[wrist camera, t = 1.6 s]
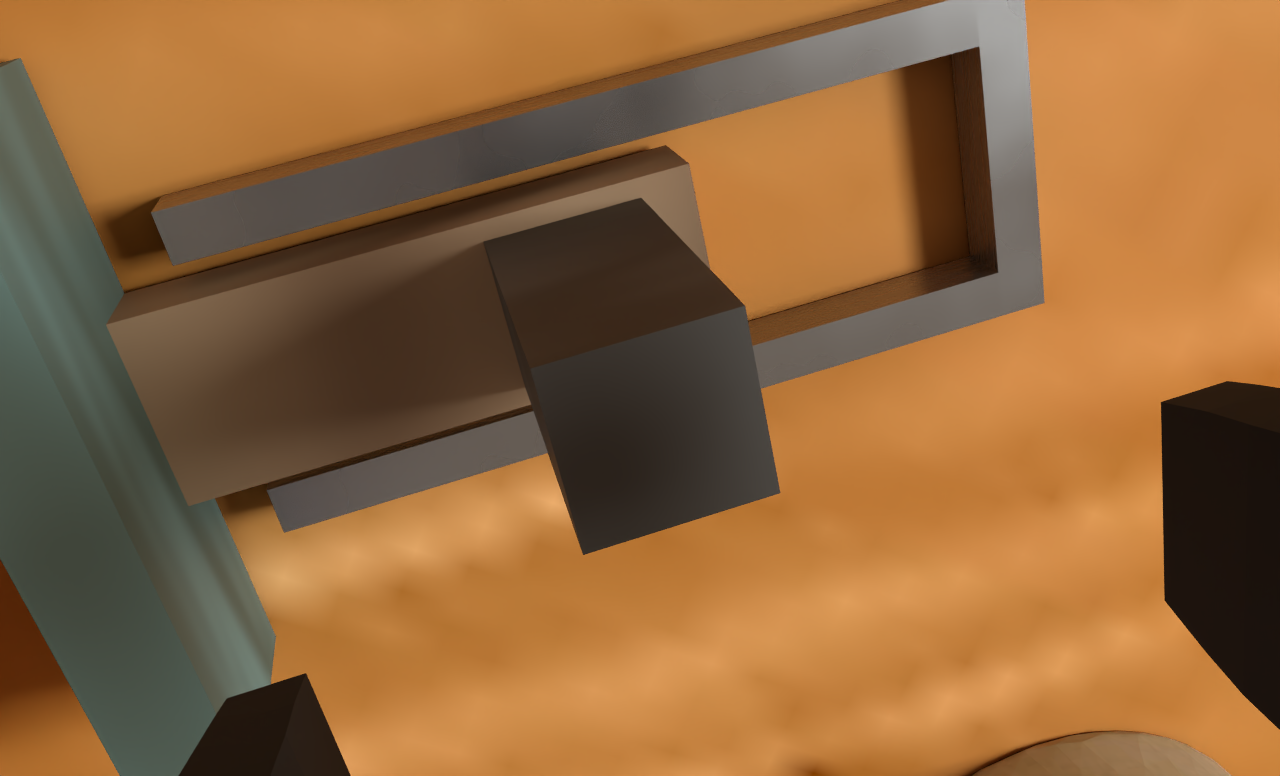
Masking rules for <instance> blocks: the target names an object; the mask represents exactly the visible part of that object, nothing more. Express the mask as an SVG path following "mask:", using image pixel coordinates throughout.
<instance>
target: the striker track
mask: <svg viewBox="0 0 1280 776" xmlns="http://www.w3.org/2000/svg"><path fill="white" fill-rule="evenodd" d="M949 54H951V61H952V71H953V82H954V93H955V103H956V114H957V124H958V135H959V146H960V156H961V167H962V177H963V188H964V199H965V209H966V220H967V230H968V241H969V252H970V256H969V257H966V258H962V259H959V260H955V261H952V262H949V263H945V264H942V265H938V266H935V267H932V268H928V269H925V270H921V271H918V272H915V273H911V274H908V275H905V276H901V277H898V278H894V279H891V280H888V281H884V282H881V283H877V284H874V285H871V286H867V287H864V288H860V289H857V290H854V291H850V292H847V293H843V294H840V295H837V296H833V297H830V298H827V299H823V300H820V301H816V302H813V303H810V304H806V305H803V306H799V307H796V308H793V309H789V310H786V311H782V312H779V313H776V314H772V315H769V316H765V317H762V318H759V319H755V320H752V321H748V325H749V330H750V335H751V340H752V346H753V351H754V356H755V362H756V367H757V372H758V378H759V383H760V388H764V387H768V386H771V385H774V384H777V383H781V382H784V381H787V380H791V379H794V378H797V377H801V376H804V375H807V374H811V373H814V372H817V371H820V370H824V369H827V368H830V367H834V366H837V365H840V364H844V363H847V362H850V361H854V360H857V359H860V358H863V357H867V356H870V355H873V354H877V353H880V352H883V351H887V350H890V349H893V348H897V347H900V346H903V345H906V344H910V343H913V342H916V341H920V340H923V339H926V338H930V337H933V336H936V335H940V334H943V333H946V332H949V331H953V330H956V329H959V328H963V327H966V326H969V325H973V324H976V323H979V322H983V321H986V320H989V319H992V318H996V317H999V316H1002V315H1006V314H1009V313H1012V312H1016V311H1019V310H1022V309H1026V308H1029V307H1032V306H1035V305H1039V304H1042V303H1044V289H1043V274H1042V259H1041V244H1040V228H1039V213H1038V198H1037V183H1036V168H1035V152H1034V137H1033V122H1032V107H1031V91H1030V76H1029V61H1028V46H1027V31H1026V15H1025V0H900V1H896V2H893V3H889V4H885V5H881V6H877V7H874V8H870V9H866V10H862V11H859V12H855V13H851V14H847V15H843V16H840V17H836V18H832V19H828V20H825V21H821V22H817V23H813V24H809V25H806V26H802V27H798V28H794V29H791V30H787V31H783V32H779V33H776V34H772V35H768V36H764V37H760V38H757V39H753V40H749V41H745V42H742V43H738V44H734V45H730V46H726V47H723V48H719V49H715V50H711V51H708V52H704V53H700V54H696V55H692V56H689V57H685V58H681V59H677V60H674V61H670V62H666V63H662V64H658V65H655V66H651V67H647V68H643V69H640V70H636V71H632V72H628V73H624V74H621V75H617V76H613V77H609V78H606V79H602V80H598V81H594V82H590V83H587V84H583V85H579V86H575V87H572V88H568V89H564V90H560V91H556V92H553V93H549V94H545V95H541V96H538V97H534V98H530V99H526V100H523V101H519V102H515V103H511V104H507V105H504V106H500V107H496V108H492V109H489V110H485V111H481V112H477V113H473V114H470V115H466V116H462V117H458V118H455V119H451V120H447V121H443V122H439V123H436V124H432V125H428V126H424V127H421V128H417V129H413V130H409V131H405V132H402V133H398V134H394V135H390V136H387V137H383V138H379V139H375V140H371V141H368V142H364V143H360V144H356V145H353V146H349V147H345V148H341V149H337V150H334V151H330V152H326V153H322V154H319V155H315V156H311V157H307V158H304V159H300V160H296V161H292V162H288V163H285V164H281V165H277V166H273V167H270V168H266V169H262V170H258V171H254V172H251V173H247V174H243V175H239V176H236V177H232V178H228V179H224V180H220V181H217V182H213V183H209V184H205V185H202V186H198V187H194V188H190V189H186V190H183V191H179V192H175V193H171V194H168V195H164V196H162V197H161V198H160V200H159V201H158V203H157V204H156V206H155V207H154V209H153V210H152V212H151V214H152V217H153V219H154V221H155V224H156V226H157V229H158V231H159V233H160V236H161V238H162V241H163V243H164V245H165V248H166V250H167V253H168V255H169V257H170V260H171V262H172V265H173V266H174V265H178V264H181V263H185V262H189V261H192V260H196V259H200V258H203V257H207V256H211V255H214V254H218V253H222V252H225V251H229V250H233V249H236V248H240V247H244V246H248V245H251V244H255V243H259V242H262V241H266V240H270V239H273V238H277V237H281V236H284V235H288V234H292V233H295V232H299V231H303V230H306V229H310V228H314V227H317V226H321V225H325V224H328V223H332V222H336V221H339V220H343V219H347V218H350V217H354V216H358V215H361V214H365V213H369V212H372V211H376V210H380V209H383V208H387V207H391V206H395V205H398V204H402V203H406V202H409V201H413V200H417V199H420V198H424V197H428V196H431V195H435V194H439V193H442V192H446V191H450V190H453V189H457V188H461V187H464V186H468V185H472V184H475V183H479V182H483V181H486V180H490V179H494V178H497V177H501V176H505V175H508V174H512V173H516V172H519V171H523V170H527V169H530V168H534V167H538V166H541V165H545V164H549V163H553V162H556V161H560V160H564V159H567V158H571V157H575V156H578V155H582V154H586V153H589V152H593V151H597V150H600V149H604V148H608V147H611V146H615V145H619V144H622V143H626V142H630V141H633V140H637V139H641V138H644V137H648V136H652V135H655V134H659V133H663V132H666V131H670V130H674V129H677V128H681V127H685V126H688V125H692V124H696V123H699V122H703V121H707V120H711V119H714V118H718V117H722V116H725V115H729V114H733V113H736V112H740V111H744V110H747V109H751V108H755V107H758V106H762V105H766V104H769V103H773V102H777V101H780V100H784V99H788V98H791V97H795V96H799V95H802V94H806V93H810V92H813V91H817V90H821V89H824V88H828V87H832V86H835V85H839V84H843V83H846V82H850V81H854V80H858V79H861V78H865V77H869V76H872V75H876V74H880V73H883V72H887V71H891V70H894V69H898V68H902V67H905V66H909V65H913V64H916V63H920V62H924V61H927V60H931V59H935V58H938V57H942V56H946V55H949ZM546 453H548V452H547V449H546V446H545V443H544V440H543V437H542V434H541V431H540V428H539V426H538V423H537V420H536V417H535V414H534V411H533V408H532V405H528V406H524V407H521V408H518V409H514V410H511V411H507V412H504V413H501V414H497V415H494V416H491V417H487V418H484V419H481V420H477V421H474V422H470V423H467V424H464V425H460V426H457V427H454V428H450V429H447V430H443V431H440V432H437V433H433V434H430V435H427V436H423V437H420V438H416V439H413V440H410V441H406V442H403V443H400V444H396V445H393V446H390V447H386V448H383V449H379V450H376V451H373V452H369V453H366V454H363V455H359V456H356V457H352V458H349V459H346V460H342V461H339V462H336V463H332V464H329V465H325V466H322V467H319V468H315V469H312V470H309V471H305V472H302V473H299V474H295V475H292V476H288V477H285V478H282V479H278V480H275V481H272V482H268V485H267V493H268V495H269V497H270V500H271V502H272V505H273V507H274V509H275V512H276V514H277V517H278V519H279V521H280V524H281V526H282V529H283V531H284V533H285V532H288V531H291V530H295V529H298V528H301V527H304V526H308V525H311V524H314V523H318V522H321V521H324V520H328V519H331V518H334V517H338V516H341V515H344V514H347V513H351V512H354V511H357V510H361V509H364V508H367V507H371V506H374V505H377V504H381V503H384V502H387V501H390V500H394V499H397V498H400V497H404V496H407V495H410V494H414V493H417V492H420V491H424V490H427V489H430V488H433V487H437V486H440V485H443V484H447V483H450V482H453V481H457V480H460V479H463V478H467V477H470V476H473V475H476V474H480V473H483V472H486V471H490V470H493V469H496V468H500V467H503V466H506V465H510V464H513V463H516V462H519V461H523V460H526V459H529V458H533V457H536V456H539V455H543V454H546Z"/></svg>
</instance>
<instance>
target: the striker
mask: <svg viewBox="0 0 1280 776" xmlns="http://www.w3.org/2000/svg"><path fill="white" fill-rule="evenodd" d="M528 405H532V408H533V411H534V414H535V417H536V420H537V423H538V426H539V428H540V431H541V434H542V437H543V440H544V443H545V446H546V449H547V452H548V455H549V457H550V460H551V463H552V466H553V469H554V472H555V475H556V478H557V481H558V483H559V486H560V489H561V492H562V495H563V498H564V501H565V504H566V507H567V509H568V512H569V515H570V518H571V521H572V524H573V527H574V530H575V533H576V535H577V538H578V541H579V544H580V547H581V550H582V553H583V555H585V554H588V553H591V552H594V551H597V550H600V549H604V548H607V547H610V546H613V545H616V544H620V543H623V542H626V541H629V540H632V539H636V538H639V537H642V536H645V535H648V534H651V533H655V532H658V531H661V530H664V529H667V528H671V527H674V526H677V525H680V524H683V523H686V522H690V521H693V520H696V519H699V518H702V517H706V516H709V515H712V514H715V513H718V512H721V511H725V510H728V509H731V508H734V507H737V506H741V505H744V504H747V503H750V502H753V501H756V500H760V499H763V498H766V497H769V496H772V495H776V494H779V493H780V489H779V484H778V478H777V473H776V468H775V462H774V457H773V452H772V446H771V441H770V436H769V431H768V425H767V420H766V415H765V409H764V404H763V399H762V393H761V388H760V383H759V378H758V372H757V367H756V362H755V356H754V351H753V346H752V340H751V335H750V330H749V325H748V319H747V314H746V309H745V305H744V304H743V303H742V302H741V301H740V300H739V299H738V298H737V297H736V296H735V295H734V294H733V293H732V292H731V291H730V290H729V289H728V288H727V286H726V285H725V284H724V283H723V282H722V281H721V280H720V279H719V278H718V277H717V276H716V275H715V274H714V273H713V272H712V271H711V270H710V266H709V261H708V256H707V251H706V246H705V241H704V236H703V231H702V226H701V221H700V216H699V211H698V206H697V201H696V196H695V191H694V186H693V181H692V176H691V171H690V166H689V163H688V162H686V161H685V160H684V159H682V158H681V157H680V156H679V155H677V154H676V153H675V152H674V151H672V150H671V149H670V148H669V147H667V146H666V145H665V146H662V147H658V148H654V149H651V150H647V151H643V152H640V153H636V154H632V155H629V156H625V157H621V158H618V159H614V160H610V161H607V162H603V163H599V164H596V165H592V166H588V167H585V168H581V169H577V170H574V171H570V172H567V173H563V174H559V175H556V176H552V177H548V178H545V179H541V180H537V181H534V182H530V183H526V184H523V185H519V186H515V187H512V188H508V189H504V190H501V191H497V192H493V193H490V194H486V195H482V196H479V197H475V198H471V199H468V200H464V201H461V202H457V203H453V204H450V205H446V206H442V207H439V208H435V209H431V210H428V211H424V212H420V213H417V214H413V215H409V216H406V217H402V218H398V219H395V220H391V221H387V222H384V223H380V224H376V225H373V226H369V227H365V228H362V229H358V230H355V231H351V232H347V233H344V234H340V235H336V236H333V237H329V238H325V239H322V240H318V241H314V242H311V243H307V244H303V245H300V246H296V247H292V248H289V249H285V250H281V251H278V252H274V253H270V254H267V255H263V256H259V257H256V258H252V259H249V260H245V261H241V262H238V263H234V264H230V265H227V266H223V267H219V268H216V269H212V270H208V271H205V272H201V273H197V274H194V275H190V276H186V277H183V278H179V279H175V280H172V281H168V282H164V283H161V284H157V285H153V286H150V287H146V288H143V289H139V290H135V291H132V292H128V293H124V291H123V289H122V287H121V285H120V282H119V280H118V278H117V276H116V273H115V271H114V269H113V266H112V264H111V262H110V260H109V257H108V255H107V253H106V251H105V248H104V246H103V244H102V242H101V239H100V237H99V235H98V233H97V230H96V228H95V226H94V223H93V221H92V219H91V217H90V214H89V212H88V210H87V208H86V205H85V203H84V201H83V199H82V196H81V194H80V192H79V189H78V187H77V185H76V183H75V180H74V178H73V176H72V174H71V171H70V169H69V167H68V165H67V162H66V160H65V158H64V155H63V153H62V151H61V149H60V146H59V144H58V142H57V140H56V137H55V135H54V133H53V131H52V128H51V126H50V124H49V121H48V119H47V117H46V115H45V112H44V110H43V108H42V106H41V103H40V101H39V99H38V97H37V94H36V92H35V90H34V87H33V85H32V83H31V81H30V78H29V76H28V74H27V72H26V69H25V67H24V65H23V63H22V60H21V58H19V59H14V60H10V61H6V62H2V63H0V559H1V561H2V563H3V565H4V567H5V568H6V570H7V572H8V574H9V576H10V577H11V579H12V581H13V583H14V585H15V587H16V588H17V590H18V592H19V594H20V596H21V597H22V599H23V601H24V603H25V605H26V606H27V608H28V610H29V612H30V614H31V616H32V617H33V619H34V621H35V623H36V625H37V626H38V628H39V630H40V632H41V634H42V635H43V637H44V639H45V641H46V643H47V645H48V646H49V648H50V650H51V652H52V654H53V655H54V657H55V659H56V661H57V663H58V664H59V666H60V668H61V670H62V672H63V674H64V675H65V677H66V679H67V681H68V683H69V684H70V686H71V688H72V690H73V692H74V693H75V695H76V697H77V699H78V701H79V703H80V704H81V706H82V708H83V710H84V712H85V713H86V715H87V717H88V719H89V721H90V722H91V724H92V726H93V728H94V730H95V731H96V733H97V735H98V737H99V739H100V741H101V742H102V744H103V746H104V748H105V750H106V751H107V753H108V755H109V757H110V759H111V760H112V762H113V764H114V766H115V768H116V770H117V771H118V773H119V775H120V776H179V774H180V772H181V771H182V769H183V767H184V766H185V764H186V763H187V761H188V759H189V758H190V756H191V754H192V753H193V751H194V749H195V748H196V746H197V744H198V743H199V741H200V740H201V738H202V736H203V735H204V733H205V731H206V730H207V728H208V727H209V725H210V723H211V722H212V720H213V719H214V717H215V715H216V714H217V712H218V711H219V709H220V708H221V706H222V705H223V703H224V702H225V700H226V699H227V698H229V697H233V696H236V695H239V694H242V693H245V692H248V691H251V690H255V689H258V688H261V687H264V686H267V685H270V684H271V675H272V666H273V657H274V648H275V639H276V636H275V634H274V631H273V629H272V627H271V625H270V622H269V620H268V618H267V615H266V613H265V611H264V609H263V606H262V604H261V602H260V600H259V597H258V595H257V593H256V591H255V588H254V586H253V584H252V581H251V579H250V577H249V575H248V572H247V570H246V568H245V566H244V563H243V561H242V559H241V557H240V554H239V552H238V550H237V547H236V545H235V543H234V541H233V538H232V536H231V534H230V532H229V529H228V527H227V525H226V523H225V520H224V518H223V516H222V513H221V511H220V509H219V507H218V504H217V502H216V500H215V498H218V497H221V496H224V495H228V494H231V493H234V492H238V491H241V490H245V489H248V488H251V487H255V486H258V485H261V484H265V483H268V482H272V481H275V480H278V479H282V478H285V477H288V476H292V475H295V474H299V473H302V472H305V471H309V470H312V469H315V468H319V467H322V466H325V465H329V464H332V463H336V462H339V461H342V460H346V459H349V458H352V457H356V456H359V455H363V454H366V453H369V452H373V451H376V450H379V449H383V448H386V447H390V446H393V445H396V444H400V443H403V442H406V441H410V440H413V439H416V438H420V437H423V436H427V435H430V434H433V433H437V432H440V431H443V430H447V429H450V428H454V427H457V426H460V425H464V424H467V423H470V422H474V421H477V420H481V419H484V418H487V417H491V416H494V415H497V414H501V413H504V412H507V411H511V410H514V409H518V408H521V407H524V406H528Z"/></svg>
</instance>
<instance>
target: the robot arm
mask: <svg viewBox="0 0 1280 776" xmlns="http://www.w3.org/2000/svg"><path fill="white" fill-rule="evenodd" d="M1161 423H1162V479H1163V534H1164V589H1165V601H1166V603H1167V604H1168V605H1169V606H1170V608H1171V609H1172V610H1173V611H1174V613H1175V614H1176V615H1177V616H1178V618H1179V619H1180V620H1181V621H1182V623H1183V624H1184V625H1185V626H1186V628H1187V629H1188V630H1189V631H1190V633H1191V634H1192V635H1193V636H1194V638H1195V639H1196V640H1197V641H1198V643H1199V644H1200V645H1201V646H1202V648H1203V649H1204V650H1205V651H1206V652H1207V654H1208V655H1209V656H1210V657H1211V658H1212V659H1213V661H1214V662H1215V663H1216V664H1217V665H1218V666H1219V667H1220V669H1221V670H1222V671H1223V672H1224V673H1225V674H1226V676H1227V677H1228V678H1229V679H1230V680H1231V681H1232V682H1233V684H1234V685H1235V686H1236V687H1237V688H1238V689H1239V691H1240V692H1241V693H1242V694H1243V695H1244V696H1245V697H1246V698H1247V699H1248V700H1249V701H1250V702H1251V703H1252V704H1253V705H1254V706H1255V707H1256V708H1257V709H1258V710H1260V711H1261V712H1262V713H1263V714H1264V715H1265V716H1266V717H1267V718H1268V719H1269V720H1270V721H1271V722H1272V723H1273V724H1274V725H1275V726H1276V727H1277V728H1279V729H1280V388H1275V387H1269V386H1262V385H1255V384H1247V383H1238V382H1229V381H1226V382H1223V383H1220V384H1217V385H1214V386H1211V387H1207V388H1204V389H1201V390H1198V391H1195V392H1192V393H1189V394H1185V395H1182V396H1179V397H1176V398H1173V399H1170V400H1166V401H1163V402H1161ZM179 776H350V773H349V771H348V769H347V766H346V764H345V762H344V760H343V757H342V755H341V753H340V750H339V748H338V746H337V743H336V741H335V739H334V737H333V734H332V732H331V730H330V727H329V725H328V723H327V720H326V718H325V716H324V714H323V711H322V709H321V707H320V704H319V702H318V700H317V697H316V695H315V693H314V691H313V688H312V686H311V684H310V681H309V679H308V677H307V674H306V673H305V674H302V675H299V676H296V677H292V678H289V679H286V680H283V681H280V682H277V683H274V684H270V685H267V686H264V687H261V688H258V689H255V690H251V691H248V692H245V693H242V694H239V695H236V696H233V697H229V698H227V699H226V700H225V702H224V703H223V705H222V706H221V708H220V709H219V711H218V712H217V714H216V715H215V717H214V719H213V720H212V722H211V723H210V725H209V727H208V728H207V730H206V731H205V733H204V735H203V736H202V738H201V740H200V741H199V743H198V744H197V746H196V748H195V749H194V751H193V753H192V754H191V756H190V758H189V759H188V761H187V763H186V764H185V766H184V767H183V769H182V771H181V772H180V774H179Z"/></svg>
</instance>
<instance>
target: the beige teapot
mask: <svg viewBox="0 0 1280 776" xmlns="http://www.w3.org/2000/svg"><path fill="white" fill-rule="evenodd" d="M972 776H1231V775H1230V774H1229V773H1228V772H1227V771H1226V770H1225V769H1224V768H1222V767H1221V766H1220V765H1219V764H1218V763H1217V762H1215V761H1214V760H1213V759H1211V758H1210V757H1208V756H1206V755H1204V754H1202V753H1201V752H1199V751H1197V750H1195V749H1194V748H1192V747H1190V746H1188V745H1187V744H1184V743H1181V742H1179V741H1176V740H1173V739H1170V738H1167V737H1162V736H1157V735H1152V734H1147V733H1141V732H1127V731H1109V732H1094V733H1087V734H1079V735H1072V736H1068V737H1064V738H1061V739H1057V740H1053V741H1050V742H1046V743H1043V744H1039V745H1035V746H1033V747H1030V748H1028V749H1026V750H1024V751H1021V752H1019V753H1017V754H1014V755H1012V756H1010V757H1007V758H1005V759H1003V760H1001V761H999V762H996V763H994V764H992V765H990V766H988V767H986V768H983V769H981V770H979V771H978V772H976V773H975V774H974V775H972Z"/></svg>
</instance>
